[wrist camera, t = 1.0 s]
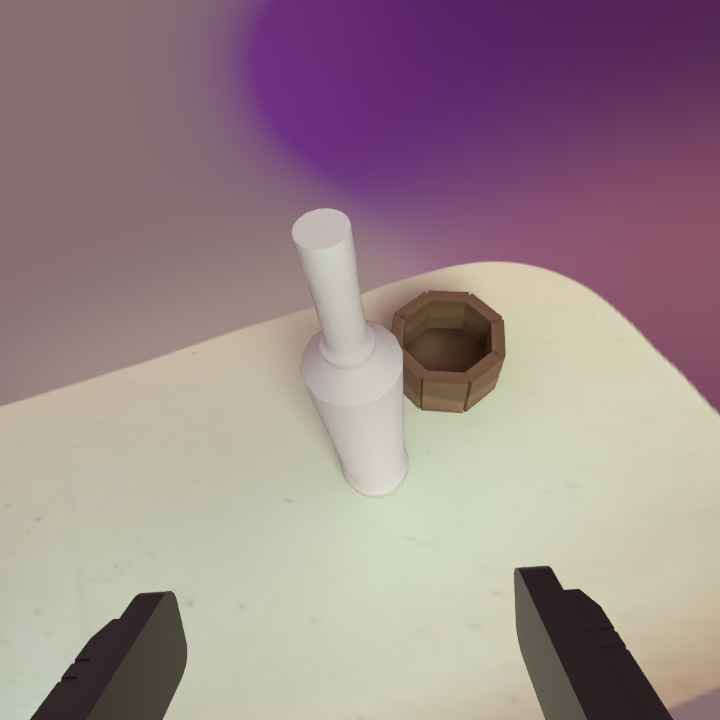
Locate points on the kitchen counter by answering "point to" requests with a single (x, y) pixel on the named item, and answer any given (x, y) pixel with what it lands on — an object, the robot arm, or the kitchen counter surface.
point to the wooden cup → (449, 350)
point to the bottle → (351, 360)
